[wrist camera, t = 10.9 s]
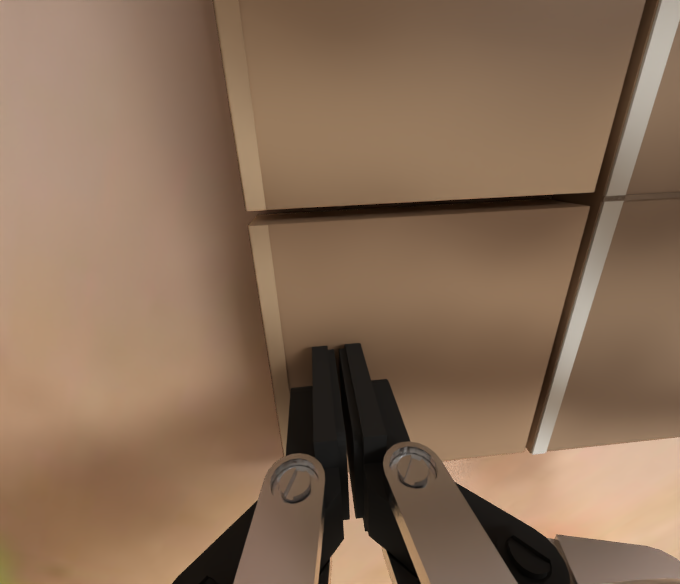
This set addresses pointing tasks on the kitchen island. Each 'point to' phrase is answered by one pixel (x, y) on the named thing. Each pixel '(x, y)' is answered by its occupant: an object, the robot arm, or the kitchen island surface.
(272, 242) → the plank
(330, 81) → the plank
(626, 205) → the laid board
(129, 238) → the kitchen island surface
